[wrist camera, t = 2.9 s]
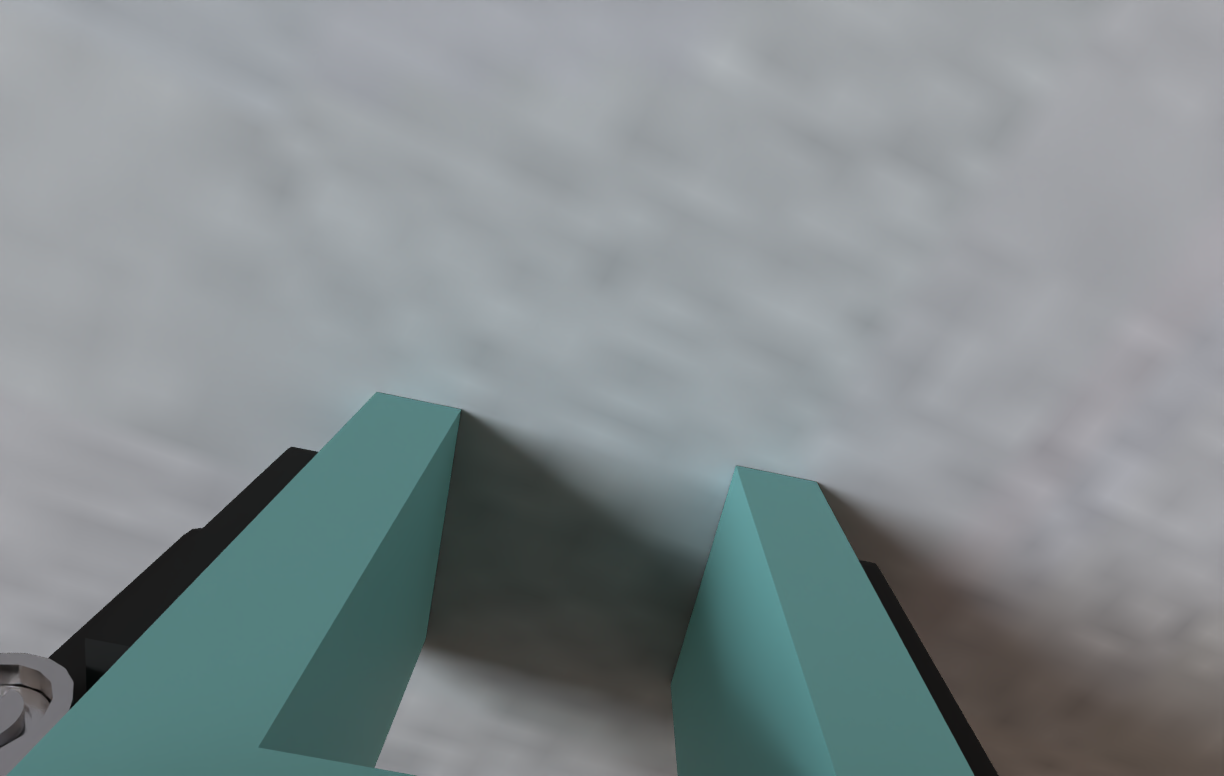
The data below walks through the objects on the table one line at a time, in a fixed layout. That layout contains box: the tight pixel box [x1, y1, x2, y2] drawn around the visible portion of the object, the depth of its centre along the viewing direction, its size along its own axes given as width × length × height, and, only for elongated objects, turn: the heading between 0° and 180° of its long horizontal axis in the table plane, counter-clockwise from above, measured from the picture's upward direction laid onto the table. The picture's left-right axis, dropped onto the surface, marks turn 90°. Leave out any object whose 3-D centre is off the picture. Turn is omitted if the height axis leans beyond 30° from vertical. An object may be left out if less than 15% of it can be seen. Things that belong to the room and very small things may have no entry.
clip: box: [6, 392, 974, 776], centre depth 8 cm, size 4×6×8 cm, turn 78°
